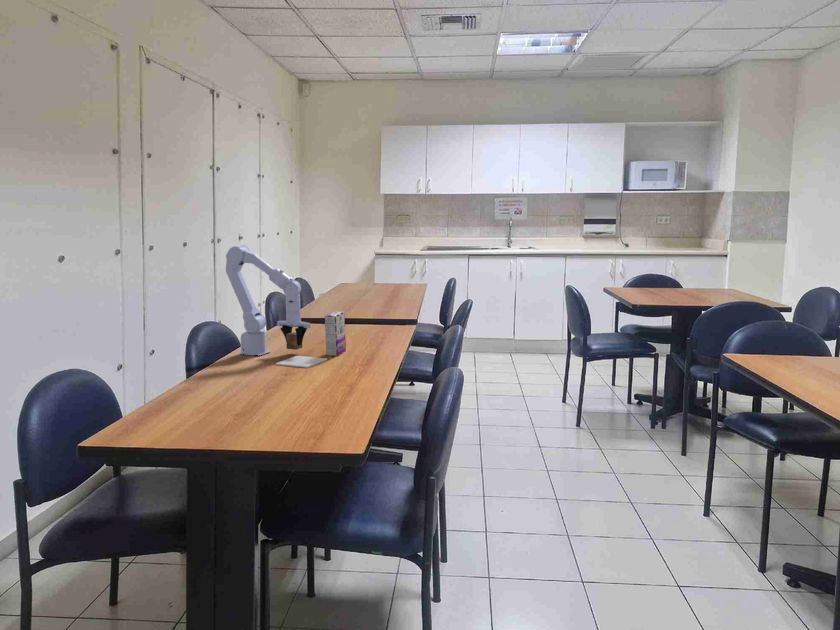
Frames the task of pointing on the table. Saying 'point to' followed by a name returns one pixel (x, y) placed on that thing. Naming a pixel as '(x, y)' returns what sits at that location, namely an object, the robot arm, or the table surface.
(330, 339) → the candy bar box
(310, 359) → the pad
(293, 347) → the walnut block
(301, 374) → the table surface
